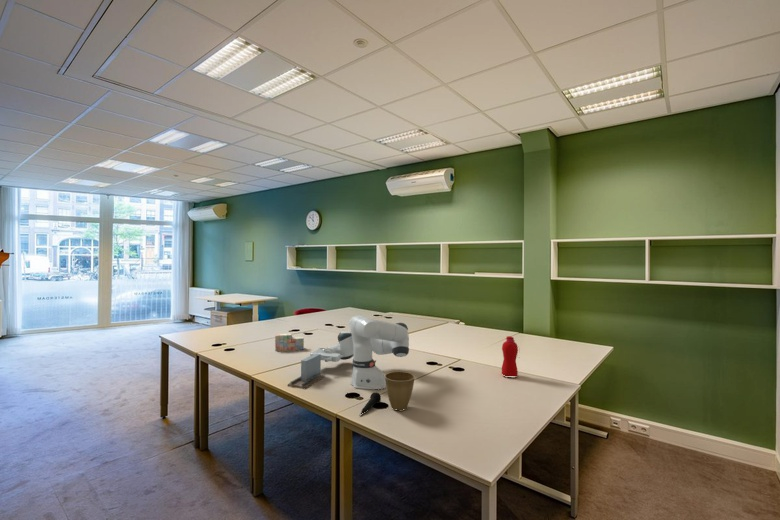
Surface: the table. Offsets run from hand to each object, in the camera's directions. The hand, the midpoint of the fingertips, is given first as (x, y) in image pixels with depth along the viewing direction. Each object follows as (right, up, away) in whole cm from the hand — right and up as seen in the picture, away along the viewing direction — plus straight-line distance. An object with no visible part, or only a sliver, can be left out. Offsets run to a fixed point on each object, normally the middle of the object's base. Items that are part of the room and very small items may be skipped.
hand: (319, 359), depth 231 cm
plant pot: (+49, -11, -49) cm, 70 cm away
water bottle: (+121, -10, 0) cm, 121 cm away
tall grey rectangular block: (-3, -8, -8) cm, 12 cm away
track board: (-5, -9, -14) cm, 17 cm away
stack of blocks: (-34, -8, +57) cm, 67 cm away
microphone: (+34, -11, -50) cm, 61 cm away
